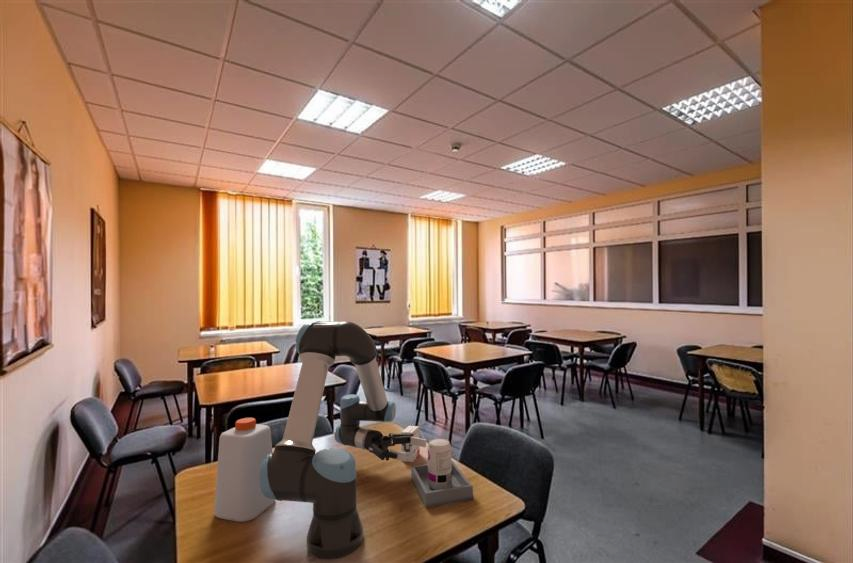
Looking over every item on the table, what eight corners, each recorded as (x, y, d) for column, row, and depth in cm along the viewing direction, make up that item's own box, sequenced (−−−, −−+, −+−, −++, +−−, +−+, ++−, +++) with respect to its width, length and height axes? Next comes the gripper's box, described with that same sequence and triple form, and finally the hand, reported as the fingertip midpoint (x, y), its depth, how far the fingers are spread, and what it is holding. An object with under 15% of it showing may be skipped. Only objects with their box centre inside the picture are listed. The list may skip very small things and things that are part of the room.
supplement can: (425, 490, 130) (424, 445, 131) (432, 478, 138) (431, 436, 138) (448, 493, 128) (447, 447, 128) (454, 481, 136) (453, 438, 136)
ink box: (409, 452, 164) (408, 424, 164) (420, 454, 162) (419, 425, 162) (401, 461, 156) (400, 431, 156) (412, 462, 154) (412, 432, 154)
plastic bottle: (281, 499, 128) (280, 414, 129) (248, 526, 113) (247, 430, 114) (244, 493, 132) (243, 411, 133) (207, 518, 118) (207, 426, 119)
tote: (472, 499, 125) (472, 485, 125) (425, 508, 121) (425, 493, 121) (452, 472, 145) (452, 460, 145) (411, 478, 140) (411, 466, 140)
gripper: (388, 438, 159) (433, 448, 149) (347, 462, 137) (396, 475, 127) (388, 420, 159) (432, 428, 149) (347, 441, 138) (396, 452, 127)
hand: (416, 450), depth 138 cm, fingers open, 13 cm apart
